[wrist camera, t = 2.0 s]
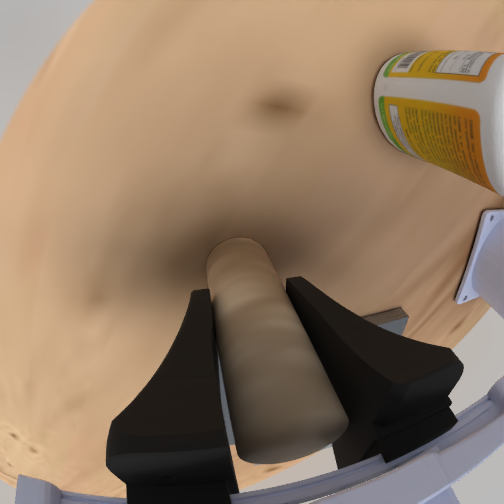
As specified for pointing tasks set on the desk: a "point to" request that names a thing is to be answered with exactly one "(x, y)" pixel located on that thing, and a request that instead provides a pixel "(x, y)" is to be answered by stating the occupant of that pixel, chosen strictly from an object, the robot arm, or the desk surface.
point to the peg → (268, 360)
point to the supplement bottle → (446, 111)
